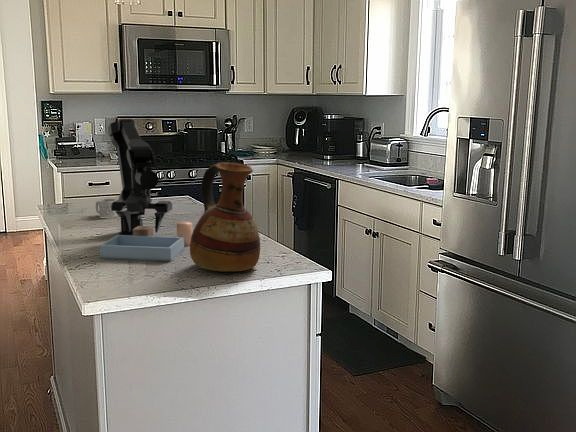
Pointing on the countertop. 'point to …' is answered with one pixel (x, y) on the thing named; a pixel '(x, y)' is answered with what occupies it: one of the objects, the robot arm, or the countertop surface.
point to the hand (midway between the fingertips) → (142, 231)
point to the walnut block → (143, 231)
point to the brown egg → (185, 231)
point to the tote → (142, 248)
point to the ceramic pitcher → (225, 223)
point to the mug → (105, 208)
